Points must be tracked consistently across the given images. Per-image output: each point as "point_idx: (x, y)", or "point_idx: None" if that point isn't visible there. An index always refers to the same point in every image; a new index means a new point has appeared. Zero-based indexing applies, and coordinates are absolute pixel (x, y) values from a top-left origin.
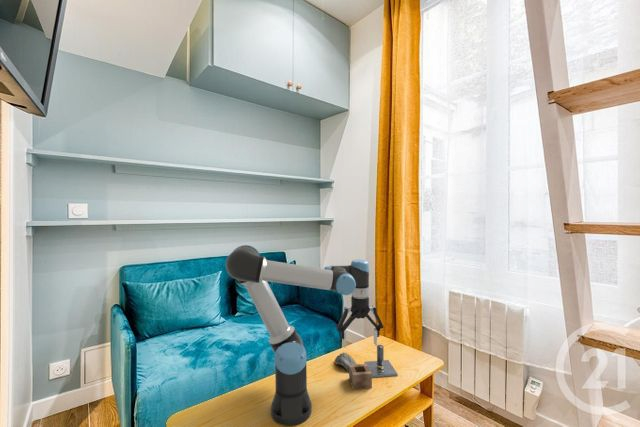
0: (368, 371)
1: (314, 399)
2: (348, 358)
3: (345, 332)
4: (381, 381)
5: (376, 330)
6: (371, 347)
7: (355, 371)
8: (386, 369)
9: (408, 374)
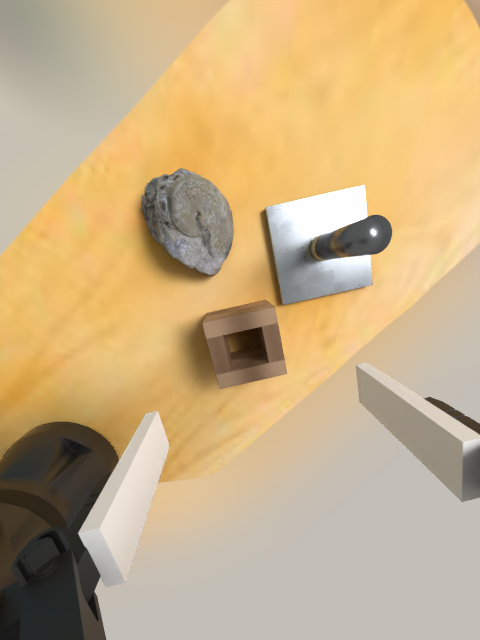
0: (276, 361)
1: (115, 419)
2: (198, 221)
3: (118, 582)
4: (309, 320)
5: (474, 498)
6: (311, 36)
7: (228, 365)
8: (341, 261)
9: (405, 272)
